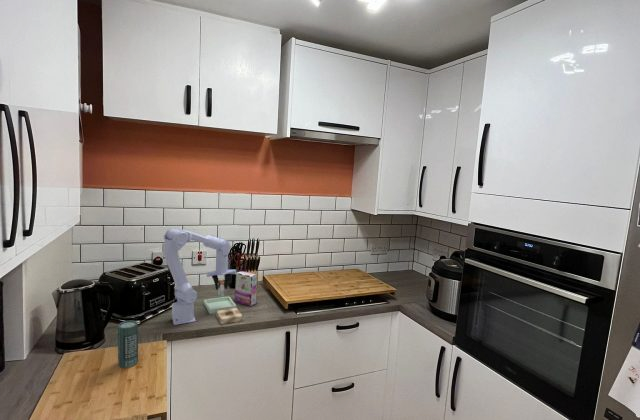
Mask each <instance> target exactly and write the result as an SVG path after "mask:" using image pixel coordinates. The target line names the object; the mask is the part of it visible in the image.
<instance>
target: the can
mask: <svg viewBox="0 0 640 420" xmlns="http://www.w3.org/2000/svg"><path fill="white" fill-rule="evenodd" d="M138 363H139V322H138V321H136V320H125V321H122V322H120V323H118V325H117V366H118V367H119V368H122V369H123V368H124V369H127V368H128V369H129V368H131V367H134V366H136V365H137V364H138Z"/></svg>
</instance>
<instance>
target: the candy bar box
mask: <svg viewBox="0 0 640 420" xmlns="http://www.w3.org/2000/svg"><path fill="white" fill-rule="evenodd" d="M234 290H235V292H234V294H235V295H234V303H235V302H236V303H238V304H242V305H245V306H248V307H252V306H255V305H256V304H257V295H258V293H257V292H258V291H257V290H258V274H256V273H252V272H247V271H244V270H241V271H236V274H235V289H234Z"/></svg>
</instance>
